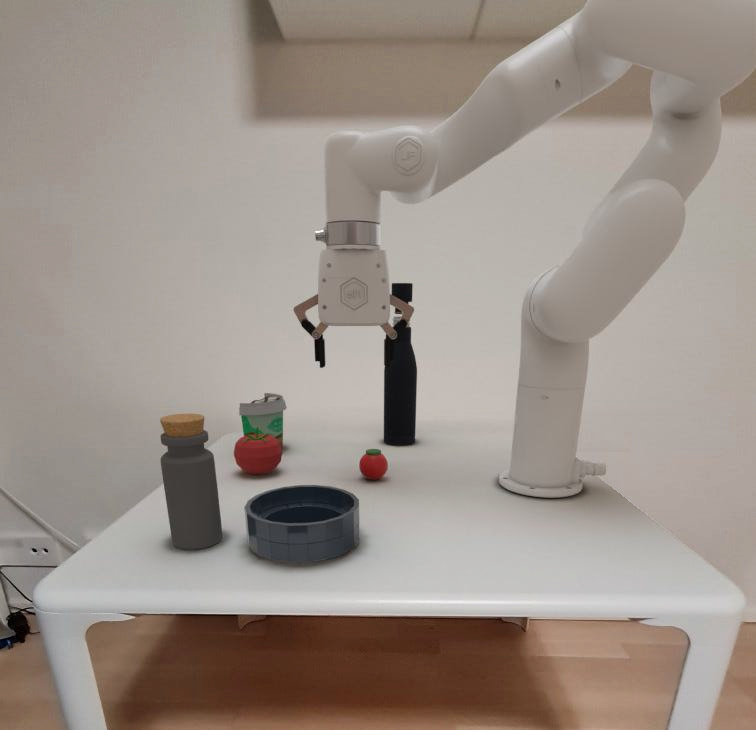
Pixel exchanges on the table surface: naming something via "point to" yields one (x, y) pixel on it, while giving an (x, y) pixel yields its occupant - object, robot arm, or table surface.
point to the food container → (264, 416)
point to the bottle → (190, 483)
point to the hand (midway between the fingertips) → (354, 366)
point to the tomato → (258, 453)
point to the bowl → (302, 523)
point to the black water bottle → (401, 382)
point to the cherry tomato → (373, 464)
